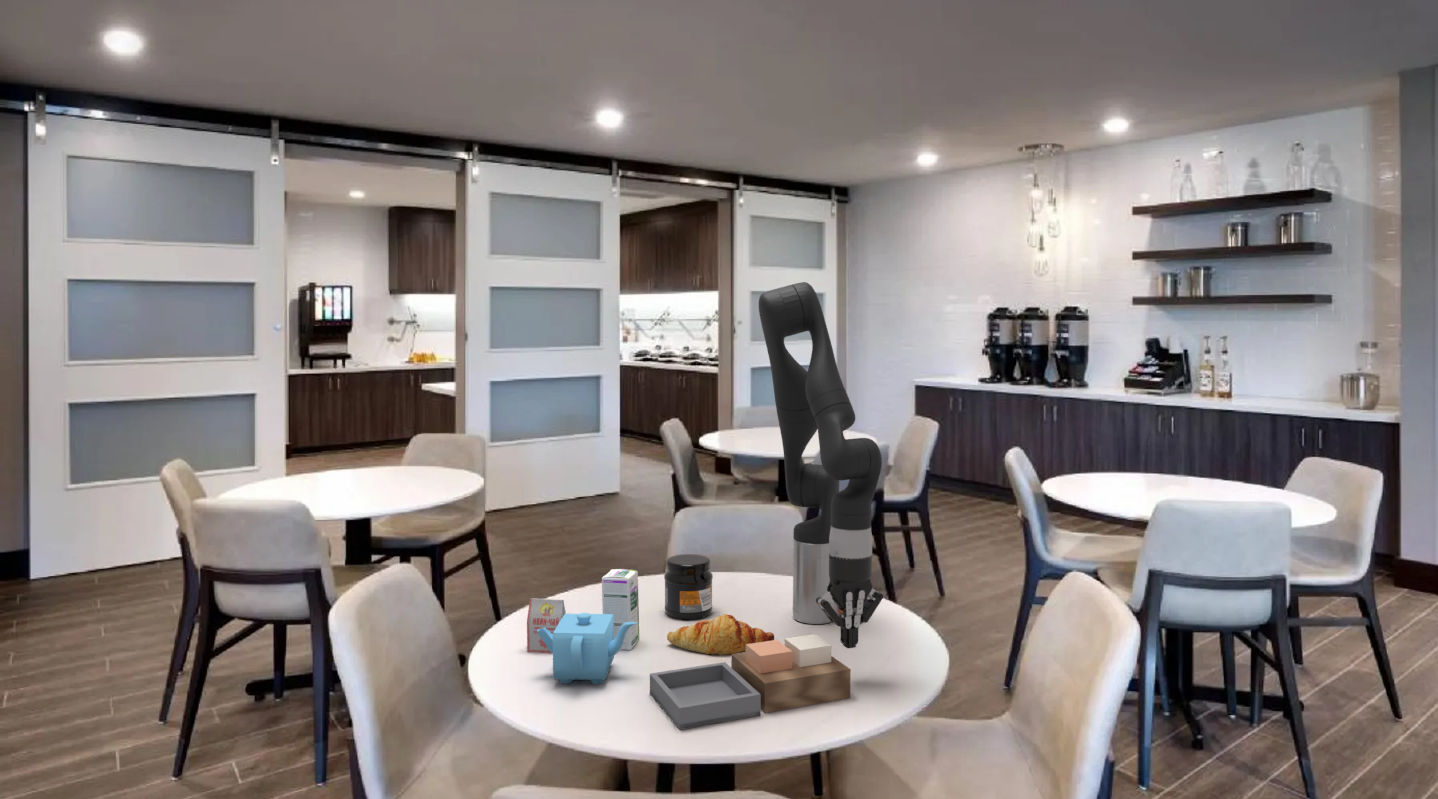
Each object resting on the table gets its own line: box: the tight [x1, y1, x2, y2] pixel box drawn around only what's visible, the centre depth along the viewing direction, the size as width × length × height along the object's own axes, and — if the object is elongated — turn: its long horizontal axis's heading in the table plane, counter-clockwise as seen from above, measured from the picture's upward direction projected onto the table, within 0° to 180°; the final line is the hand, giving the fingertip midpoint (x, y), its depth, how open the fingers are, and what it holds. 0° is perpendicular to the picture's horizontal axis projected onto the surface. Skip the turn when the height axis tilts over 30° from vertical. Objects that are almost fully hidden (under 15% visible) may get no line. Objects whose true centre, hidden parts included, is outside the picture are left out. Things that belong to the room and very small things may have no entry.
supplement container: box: [663, 553, 714, 621], centre depth 198 cm, size 10×10×12 cm
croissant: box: [666, 613, 775, 655], centre depth 178 cm, size 21×10×8 cm
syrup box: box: [601, 568, 640, 651], centre depth 179 cm, size 6×6×14 cm
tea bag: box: [526, 597, 567, 654], centre depth 177 cm, size 4×7×10 cm, turn 81°
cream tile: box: [784, 634, 832, 667], centre depth 159 cm, size 6×6×3 cm
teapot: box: [537, 612, 637, 685], centre depth 164 cm, size 16×18×11 cm
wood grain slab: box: [730, 651, 852, 714], centre depth 158 cm, size 16×14×5 cm
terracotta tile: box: [746, 639, 793, 674], centre depth 156 cm, size 6×6×3 cm
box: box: [649, 661, 762, 731], centre depth 152 cm, size 14×15×4 cm
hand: (849, 646), depth 162 cm, fingers closed
